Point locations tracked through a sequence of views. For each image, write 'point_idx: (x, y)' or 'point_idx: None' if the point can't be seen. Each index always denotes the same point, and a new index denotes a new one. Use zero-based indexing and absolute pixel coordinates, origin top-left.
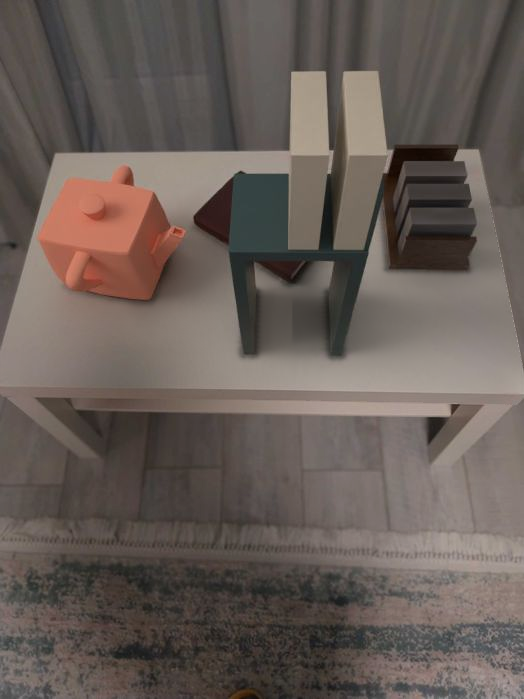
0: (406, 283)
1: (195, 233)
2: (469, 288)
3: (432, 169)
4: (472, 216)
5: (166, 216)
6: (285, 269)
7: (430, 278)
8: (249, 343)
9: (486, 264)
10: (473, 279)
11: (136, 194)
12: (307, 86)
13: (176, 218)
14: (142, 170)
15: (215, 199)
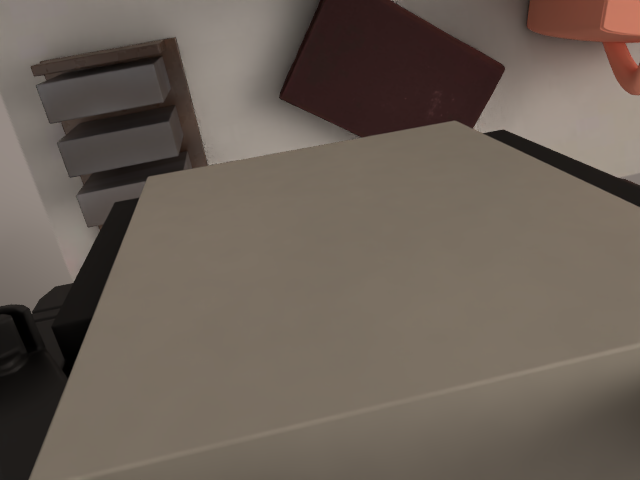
0: (140, 11)
1: (492, 53)
2: (30, 20)
3: (139, 196)
4: (47, 102)
5: (557, 30)
6: None
7: (102, 29)
8: None
9: (12, 78)
10: (27, 41)
11: (629, 16)
12: None
13: (523, 78)
14: (581, 161)
15: (476, 107)
